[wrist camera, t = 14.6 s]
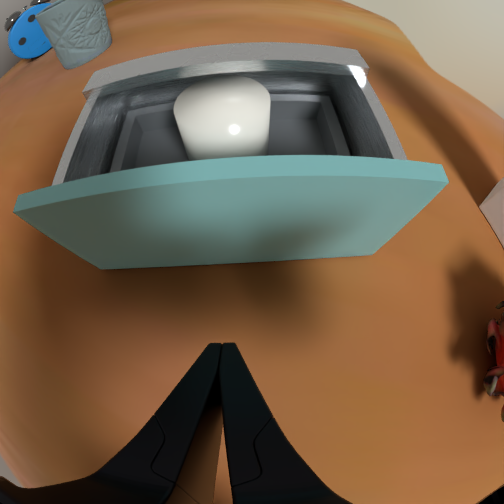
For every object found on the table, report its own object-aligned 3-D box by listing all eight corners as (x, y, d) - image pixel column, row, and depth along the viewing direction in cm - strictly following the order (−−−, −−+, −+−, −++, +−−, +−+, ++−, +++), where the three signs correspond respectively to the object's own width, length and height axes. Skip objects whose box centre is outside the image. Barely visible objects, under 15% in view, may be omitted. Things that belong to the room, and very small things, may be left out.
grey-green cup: (65, 56, 28) (43, 8, 17) (118, 30, 29) (101, -22, 18) (57, 81, 25) (26, 23, 14) (119, 49, 26) (96, -16, 15)
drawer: (372, 254, 16) (448, 182, 8) (100, 269, 16) (13, 212, 8) (336, 122, 19) (361, 36, 11) (126, 137, 19) (87, 60, 11)
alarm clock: (66, 33, 34) (48, -11, 20) (73, 34, 33) (53, -14, 19) (20, 67, 31) (-3, 25, 17) (23, 71, 30) (-2, 24, 15)
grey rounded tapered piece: (271, 181, 16) (275, 130, 12) (186, 187, 16) (167, 138, 12) (264, 123, 18) (266, 73, 14) (192, 128, 18) (179, 80, 14)
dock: (368, 242, 16) (427, 179, 9) (103, 257, 16) (34, 206, 9) (333, 116, 20) (352, 44, 13) (129, 130, 20) (98, 65, 13)
